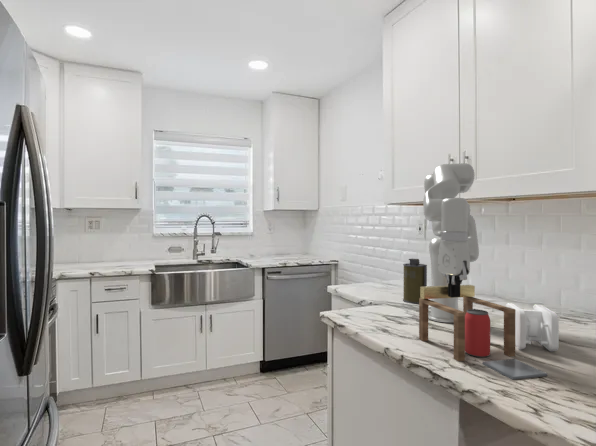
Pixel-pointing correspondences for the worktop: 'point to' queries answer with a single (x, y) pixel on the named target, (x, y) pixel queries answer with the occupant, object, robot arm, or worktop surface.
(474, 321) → the beer can
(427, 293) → the bar
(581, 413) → the worktop surface
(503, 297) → the worktop surface
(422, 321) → the frame
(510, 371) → the coaster
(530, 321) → the cable organizer
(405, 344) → the worktop surface
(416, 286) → the canister
